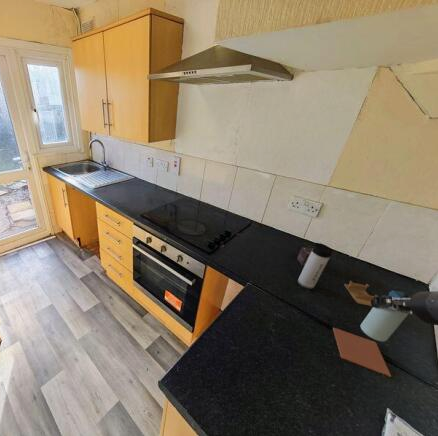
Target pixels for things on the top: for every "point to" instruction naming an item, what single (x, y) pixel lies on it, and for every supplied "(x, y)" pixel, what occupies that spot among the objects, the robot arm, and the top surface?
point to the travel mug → (314, 265)
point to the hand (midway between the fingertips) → (386, 306)
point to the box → (304, 255)
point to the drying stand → (359, 293)
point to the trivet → (360, 351)
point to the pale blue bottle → (383, 320)
